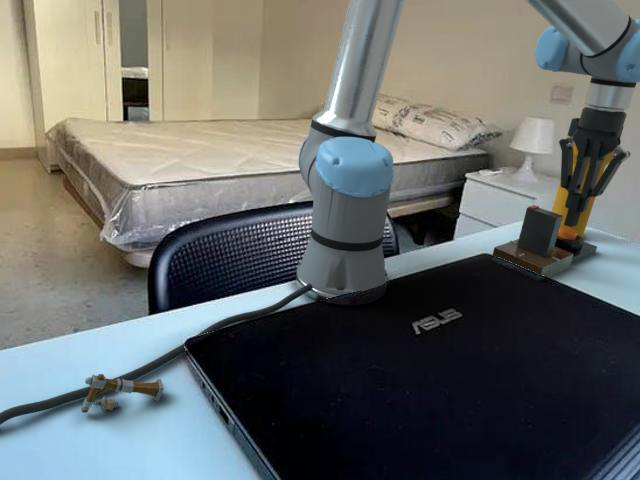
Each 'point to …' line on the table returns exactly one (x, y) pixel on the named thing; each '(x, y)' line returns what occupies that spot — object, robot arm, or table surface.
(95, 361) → the table surface
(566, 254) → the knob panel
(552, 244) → the dark gray rectangular block
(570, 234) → the button
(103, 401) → the toy blaster gun
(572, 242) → the button block
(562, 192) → the flashlight
